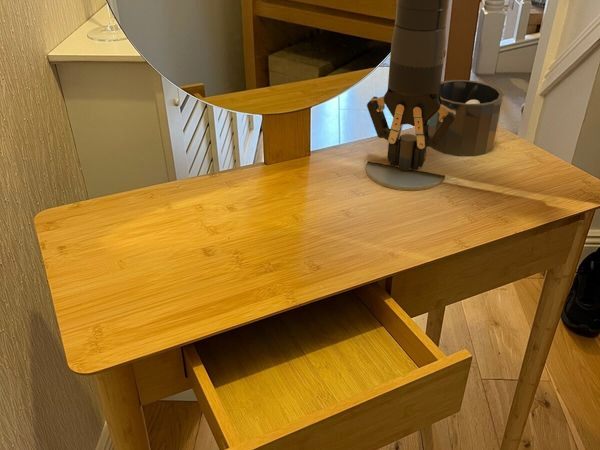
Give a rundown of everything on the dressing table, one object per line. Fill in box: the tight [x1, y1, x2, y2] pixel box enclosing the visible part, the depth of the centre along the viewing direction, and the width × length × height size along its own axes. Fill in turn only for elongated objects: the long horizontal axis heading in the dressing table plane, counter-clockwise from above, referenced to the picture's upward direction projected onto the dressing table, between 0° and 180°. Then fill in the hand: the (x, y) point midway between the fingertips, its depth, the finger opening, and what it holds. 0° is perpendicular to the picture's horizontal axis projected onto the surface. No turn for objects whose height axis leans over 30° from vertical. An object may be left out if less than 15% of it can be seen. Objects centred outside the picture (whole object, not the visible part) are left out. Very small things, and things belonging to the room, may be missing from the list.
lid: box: [365, 133, 446, 192], centre depth 97 cm, size 12×12×6 cm
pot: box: [428, 79, 504, 157], centre depth 103 cm, size 11×11×10 cm
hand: (405, 164), depth 98 cm, fingers open, 3 cm apart
